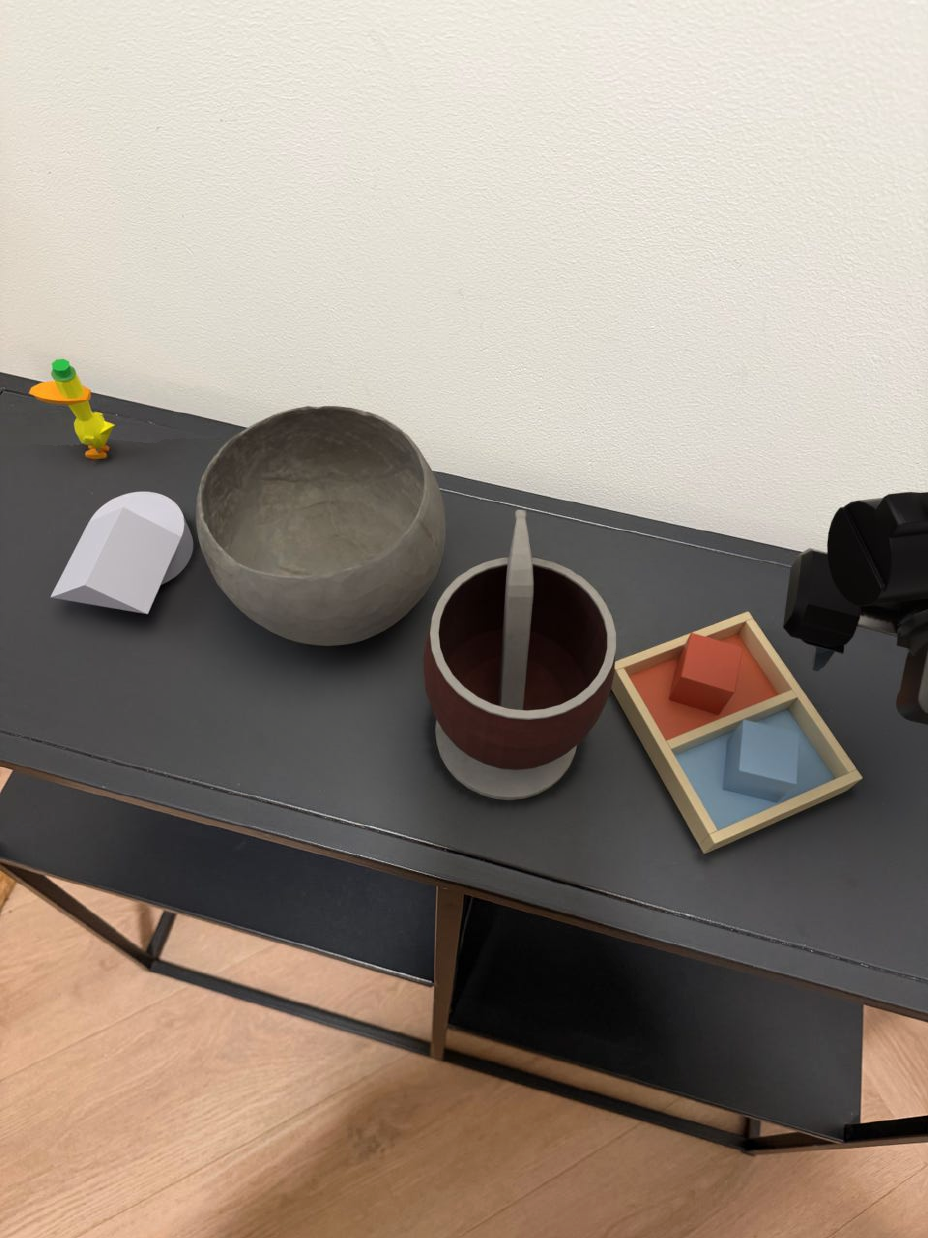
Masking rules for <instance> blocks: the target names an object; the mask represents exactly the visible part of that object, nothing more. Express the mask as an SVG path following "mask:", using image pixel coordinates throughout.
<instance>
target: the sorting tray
mask: <svg viewBox="0 0 928 1238" xmlns="http://www.w3.org/2000/svg"><path fill="white" fill-rule="evenodd" d="M691 633H695V634H698V635H701V636H705V637H708V638H711V639H715V640H718V641H722V642H725V643H728V644H732V645H735V646H739V647H742V648H743V651H742V656H741V662H740V667H739V672H738V677H737V683H736V688H735V693H734V694H733V695H732V697H731V698H730V700H729V701H728V703H727V704H726V705H725V707H724V708H723V710H722V711H721V713H720V714H719V715H718V714H715V713H711V712H708V711H705V710H702V709H698V708H695V707H692V706H689V705H685V704H682V703H679V702H676V701H672V700H669V695H670V690H671V686H672V682H673V678H674V673H675V669H676V665H677V661H678V657H679V655H680V653H681V651H682V649H683V647H684V645H685V643H686V641H687V639H688V638H689V636H690V634H691ZM611 691H612V693H613V694H614V696H615V698H616V700H617V702H618V704H619V705H620V707H621V709H622V711H623V712H624V715H625V716H626V718H627V720H628V722H629V723H630V725H631V726H632V729H633V731H634V733H635V734H636V736H637V737H638V739H639V741H640V743H641V744H642V745H641V746H643V748H644V750H645V751H646V754H647V755H648V757H649V759H650V761H651V763H652V764H653V766H654V768H655V769H656V772H657V773H658V775H659V777H660V779H661V781H662V782H663V784H664V786H665V787H666V790H667V791H668V792H669V795H670V796H671V798H672V800H673V802H674V804H675V805H676V807H677V809H678V811H679V812H680V814H681V816H682V818H683V820H684V821H685V823H686V825H687V827H688V829H689V830H690V832H691V834H692V835H693V838H694V839H695V841H696V843H697V844H698V846H699V849H700V850H701V852H702V854H703V855H706V854H708V853H711V852H713V851H715V850H718V849H719V848H722V847H724V846H727V845H729V844H731V843H733V842H736V841H737V840H739V839H742V838H745V837H747V836H748V835H751V834H753V833H756V832H757V831H760V830H762V829H764V828H766V827H769V826H771V825H774V824H776V823H778V822H781V821H782V820H785V819H787V818H789V817H791V816H793V815H796V814H798V813H800V812H802V811H805V810H808V809H810V808H811V807H814V806H816V805H818V804H821V803H823V802H825V801H827V800H830V799H832V798H834V797H836V796H838V795H841V794H843V793H845V792H847V791H848V790H850V789H851V788H852V787H854V786H855V785H856V784H858V783H859V782H860V781H861V780H862V779H863V776H862V775H861V773H860V772H859V770H858V769H857V768H856V766H855V765H854V762H852V760H851V758H850V757H849V756H848V754H847V753H846V751H845V750H844V749H843V747H842V746H841V744H840V743H839V741H838V740H837V738H836V737H835V735H834V734H833V732H832V731H831V730H830V728H829V727H828V725H827V724H826V722H825V721H824V720H823V718H822V716H821V715H820V714H819V712H818V711H817V709H816V708H815V707H814V705H813V704H812V702H811V700H810V699H809V697H808V696H807V695H806V693H805V691H804V690H803V689H802V688H801V686H800V684H799V683H798V682H797V680H796V678H795V677H794V675H793V673H791V672H790V669H789V668H788V666H787V665H786V664H785V663H784V661H783V660H782V658H781V657H780V655H779V654H778V652H777V651H776V650H775V648H774V647H773V645H772V644H771V642H770V640H769V639H768V638H767V637H766V635H765V633H764V632H763V631H762V629H761V627H759V625H758V623H757V622H756V620H755V619H754V617H753V616H752V614H751V613H750V612H749V611H745V612H742V613H740V614H738V615H735V616H732V617H730V618H727V619H725V620H722V621H718V622H715V623H714V624H711V625H709V626H706V627H703V628H700V629H698V630H695V631H692V632H690V633H688V634H684V635H681V636H680V637H677V638H674V639H671V640H669V641H666V642H664V643H660V644H658V645H655V646H653V647H650V648H648V649H645V650H643V651H639V652H637V653H635V654H632V655H628V656H626V657H624V658H621V659H619V660H618V659H617V660H615V670H614V678H613V682H612V687H611ZM743 720H747V721H752V722H756V723H760V724H764V725H769V726H773V727H777V728H782V729H786V730H790V731H794V732H799V751H798V771H797V784H796V785H795V786H794V787H793V788H792V789H791V790H790V791H789V792H788V793H787V794H786V795H785V796H784V797H782V798H781V799H780V800H779V801H778V802H773V801H768V800H764V799H760V798H756V797H752V796H748V795H744V794H740V793H736V792H731V791H727V790H723V780H724V770H725V759H726V749H727V741H728V739H729V738H730V737H731V735H732V734H733V733H734V732H735V730H736V729H737V728H738V726H739V725H740V724H741V722H742V721H743Z"/></svg>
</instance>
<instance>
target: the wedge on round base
mask: <svg viewBox="0 0 928 1238" xmlns="http://www.w3.org/2000/svg"><path fill="white" fill-rule="evenodd" d="M192 535H193V534H192V533H191V530H190V528H189V525H188V524H187V520H186V519H185V516H184V514H183V511H182V509H181V508H180V507H179V505H178V504H177V503H176V502H175V501H174V500H172V499H171V498H170V497H168V496H166V495H164V494H161V493H158V492H152V491H134V492H129V493H125V494H122V495H119V496H117V497H114V498H112V499H110V500H109V501H107V502H105V503H104V504H103V505H102V506H100V507H99V508H98V509H97V510H96V511H95V513H94V514H93V515H92V516H91V518H90V519H89V521H88V523H87V525H86V527H85V529H84V531H83V533H82V534H81V537H80V538H79V541H78V542H77V544H76V546H75V549H74V550H73V552H72V554H71V556H70V558H69V560H68V561H67V564H66V566H65V568H64V570H63V572H62V573H61V576H60V577H59V579H58V582H57V583H56V586H55V587H54V589H53V591H52V593H51V595H50V598H52V599H56V600H57V599H58V600H63V601H68V602H73V603H74V602H75V603H81V604H86V605H93V606H96V607H97V606H98V607H102V608H103V607H104V608H109V609H116V610H121V611H128V612H133V613H139V614H146V615H148V614H149V612H150V610H151V608H152V605H153V603H154V601H155V598H156V596H157V594H158V592H159V589H160V587H161V585H164V584H167V583H168V582H170V581H171V580H173V579H174V578H176V577H177V576H178V575H179V574H180V573H182V571H183V570H184V569H185V568H186V566H187V565H188V564H189V562H190V560H191V558H192V556H193V551H194V538H193V536H192Z"/></svg>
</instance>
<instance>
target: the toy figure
mask: <svg viewBox="0 0 928 1238" xmlns="http://www.w3.org/2000/svg"><path fill="white" fill-rule="evenodd" d="M51 368H52V370H51V373H50V374H51V375H50V376H51V377H52V379H53V380H50V381H49V380H48V381H44V382H43V381H42V382H39V383H37V384H35V385H33V386H31V387H30V390H29V392H28V394H29V395H31V396H33V397H34V398H35V399H36V400H37V401H40V402H44V403H47V404H54V405H64V406H65V405H66V406H68V408H69V409H70V411H71V412H72V414H74V416H75V420H74V422H73V427H74V432H75V434H76V436H77V438H78V440H79V441H80V443H81V444H82V445H87V448H88V450H87V451H85V455H84V456H85V457H86V458H87V459H91V460H100V459H101V460H102V459H106V458H107V455H108V454H107V452H109V450H110V449H111V448H110V446H109V445H107V443H108V440H109V438H110V435H111V433H112V431H113V430H114V428H115V424H114V423H111V422H109V421H107V420H105V417H104V414H103V413H102V412H99V411H94V412H93V411H92V409H91V406H90V402H89V401H90V400H91V398H92V397H91V396H92V393H91V392H92V390H91V389H90V388H88V387H86V386H85V385H83V383H82V382H81V379H80V377H79V376H78V374H77V371H76V368H75V367H73V366H72V365H70V360H68V359H65V358H57V359H55V360H54V361H52V363H51ZM98 448H100V450H99V451H96V449H98Z"/></svg>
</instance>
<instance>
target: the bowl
mask: <svg viewBox="0 0 928 1238" xmlns="http://www.w3.org/2000/svg"><path fill="white" fill-rule="evenodd" d="M444 504H445V503H444V500H443V495H442V492H441V490H440V487H439V484H438V482H437V479H436V476H435V475H434V471H433V469H432V467H431V466H430V464H429V462H428V460H427V459H426V458H425V457H424V454H423V453H422V451H421V450H420V448H419V447H418V446H417V444H416V443H415V442H414V441H413V439H412V438H411V437H410V435H408V434H407V433H406V432H405V431H403V430H402V429H401V428H400V427H399V426H397V425H396V424H394V422H391V420H388V419H387V418H384V417H383V416H381V415H379V414H376V413H373V412H370V411H365V410H362V409H359V408H353V407H347V406H339V405H323V406H322V405H321V406H313V405H312V406H311V405H307V406H301V407H296V408H291V409H287V410H284V411H281V412H278V413H275V414H272V415H270V416H268V417H266V418H264V419H261V420H260V421H257V422H256V423H254V424H252V425H250V426H248V427H246V428H245V429H243V430H242V431H240V432H238V433H236V434H234V435H233V436H232V437H231V438H230V439H228V440H227V441H226V442H225V443H223V445H222V446H221V447H220V448H219V449H218V451H217V453H216V454H214V455H213V457H212V459H211V460H210V462H209V463H208V464H207V465H206V468H205V470H204V472H203V473H202V477H201V480H200V483H199V487H198V491H197V496H196V508H195V524H196V532H197V538H198V542H199V544H200V548H201V552H202V554H203V557H204V560H205V563H206V565H207V567H208V568H209V571H210V573H211V575H212V577H213V579H214V581H215V582H216V584H217V586H218V587H219V588H220V590H221V591H222V592H223V593H224V594H225V596H227V598H228V599H229V600H230V601H231V603H232V604H233V605H234V606H235V607H236V608H237V609H239V611H240V612H241V613H242V614H244V615H245V616H246V617H247V618H249V619H250V620H251V621H252V622H254V623H256V625H257V624H258V625H259V626H261V627H263V629H265V630H267V631H268V632H271V633H272V634H275V635H277V636H280V637H282V638H284V639H286V640H290V641H292V642H295V643H300V644H306V645H312V646H325V647H330V646H331V647H332V646H342V645H350V644H355V643H359V642H362V641H365V640H367V639H370V638H372V637H374V636H376V635H378V634H380V633H382V632H384V631H386V630H387V629H390V628H391V627H392V626H393V625H395V624H396V623H398V622H399V621H400V620H401V619H403V618H405V616H407V614H408V613H409V612H410V611H411V610H413V608H414V607H415V606H416V605H417V604H418V603H419V602H420V600H422V598H424V596H425V595H426V593H427V592H428V591H429V589H430V587H431V586H432V584H433V583H434V582H435V579H436V578H437V575H438V572H439V569H440V567H441V563H442V559H443V554H444V552H445V546H446V536H447V521H446V511H445V510H446V509H445V505H444Z"/></svg>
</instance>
